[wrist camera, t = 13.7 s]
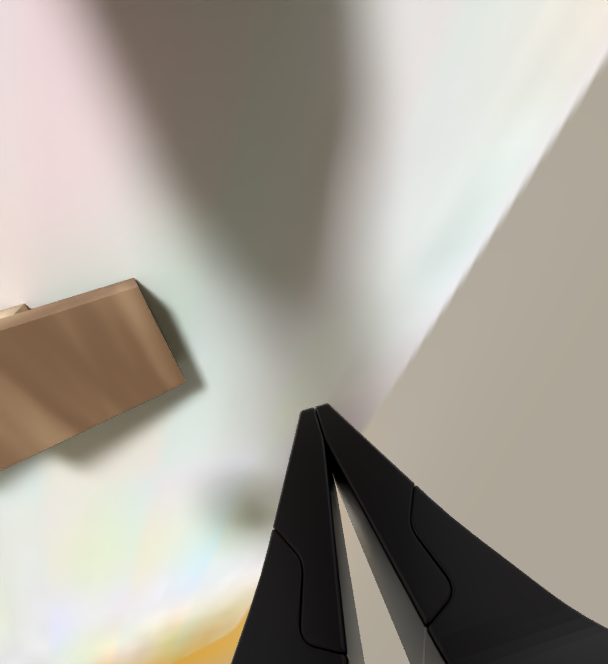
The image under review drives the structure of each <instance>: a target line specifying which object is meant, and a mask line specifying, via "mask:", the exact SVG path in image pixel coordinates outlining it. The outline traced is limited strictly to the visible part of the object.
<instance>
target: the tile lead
mask: <svg viewBox="0 0 608 664" xmlns="http://www.w3.org/2000/svg"><path fill="white" fill-rule="evenodd" d="M184 383H186V382H185V380H184V378H183V376H182V373H181V371H180V369H179V367H178V364H177V362H176V360H175V358H174V356H173V354H172V352H171V350H170V348H169V346H168V344H167V342H166V341H165V339H164V337H163V335H162V333H161V331H160V329H159V327H158V325H157V323H156V321H155V319H154V317H153V315H152V313H151V311H150V309H149V307H148V305H147V303H146V301H145V299H144V297H143V295H142V293H141V291H140V289H139V287H138V285H137V283H136V281H135V279H134V278H132V279H129V280H125V281H122V282H119V283H116V284H112V285H109V286H106V287H102V288H99V289H96V290H93V291H89V292H86V293H83V294H80V295H76V296H73V297H70V298H67V299H63V300H60V301H57V302H54V303H50V304H47V305H44V306H41V307H37V308H34V309H31V310H28V311H24V312H21V313H18V314H14V315H11V316H8V317H5V318H1V319H0V471H1V470H3V469H6V468H8V467H10V466H12V465H14V464H16V463H18V462H20V461H22V460H24V459H27V458H29V457H31V456H33V455H35V454H37V453H39V452H41V451H43V450H45V449H47V448H50V447H52V446H54V445H56V444H58V443H60V442H62V441H64V440H66V439H68V438H70V437H73V436H75V435H77V434H79V433H81V432H83V431H85V430H87V429H89V428H91V427H94V426H96V425H98V424H100V423H102V422H104V421H106V420H108V419H110V418H112V417H114V416H117V415H119V414H121V413H123V412H125V411H127V410H129V409H131V408H133V407H135V406H138V405H140V404H142V403H144V402H146V401H148V400H150V399H152V398H154V397H156V396H158V395H161V394H163V393H165V392H167V391H169V390H171V389H173V388H175V387H177V386H179V385H181V384H184Z"/></svg>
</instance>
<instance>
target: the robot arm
mask: <svg viewBox="0 0 608 664" xmlns="http://www.w3.org/2000/svg"><path fill="white" fill-rule="evenodd" d="M333 476H334V477H333ZM334 479H335V481H334ZM335 483H336V485H337V488H338V490H339V493H340V495H341V498H342V500H343V502H344V505H345V507H346V510H347V512H348V514H349V517H350V519H351V522H352V524H353V526H354V529H355V532H356V534H357V536H358V539H359V541H360V544H361V546H362V548H363V551H364V553H365V555H366V558H367V561H368V563H369V565H370V568H371V570H372V573H373V575H374V577H375V580H376V582H377V585H378V587H379V589H380V592H381V594H382V597H383V599H384V602H385V604H386V606H387V609H388V611H389V614H390V616H391V618H392V621H393V623H394V625H395V628H396V630H397V633H398V635H399V638H400V640H401V643H402V645H403V647H404V650H405V652H406V655H407V657H408V660H409V662H410V664H608V628H605V627H604V626H602V625H600V624H598V623H596V622H595V621H593V620H591V619H589V618H587V617H586V616H584V615H582V614H581V613H579V612H578V611H576V610H574V609H572V608H571V607H570V606H568V605H566V604H565V603H563V602H562V601H561V600H559V599H558V598H556V597H555V596H554V595H552V594H551V593H550V592H548V591H547V590H546V589H544V588H543V587H542V586H540V585H539V584H538V583H536V582H535V581H534V580H532V579H531V578H530V577H529V576H527V575H526V574H525V573H523V572H522V571H521V570H519V569H518V568H517V567H515V566H514V565H513V564H511V563H510V562H509V561H508V560H506V559H505V558H504V557H502V556H501V555H500V554H498V553H497V552H496V551H495V550H493V549H491V547H489V546H488V545H487V544H485V543H484V542H483V541H481V540H480V539H479V538H478V537H476V536H475V535H474V534H472V533H471V532H470V531H469V530H467V529H466V528H465V527H464V526H462V525H461V524H460V523H459V522H457V521H456V520H455V519H454V518H452V517H451V516H450V515H449V514H448V513H446V512H445V511H444V510H443V509H442V508H441V507H440V506H439V505H437V504H436V503H435V502H434V501H433V500H431V498H429V497H428V496H427V495H426V494H425V493H424V492H423V491H422V490H421V489H420V488H419V487H418V486H415V485H414V483H413V482H412V481H411V480H410V479H409V478H408V477H407V476H406V475H404V474H403V473H402V472H401V471H400V470H399V469H398V468H397V467H396V466H395V465H394V464H393V463H392V462H391V461H390V460H388V459H387V458H386V457H385V456H384V455H383V454H382V453H381V452H380V451H379V450H378V449H377V448H376V447H374V446H373V445H372V444H371V443H370V442H369V441H368V440H367V439H366V438H365V437H364V436H363V435H362V434H361V433H359V432H358V431H357V430H356V429H355V428H354V427H353V426H352V425H351V424H350V423H349V422H348V421H347V420H345V419H344V418H343V417H342V416H341V415H340V414H339V413H338V412H337V411H336V410H335V409H334V408H333V407H331V406H330V405H329V404H323V405H320V406H316V407H315V409H314V408H309V409H306V410H302V411H301V413H300V416H299V421H298V425H297V429H296V433H295V437H294V442H293V446H292V450H291V454H290V458H289V463H288V467H287V471H286V475H285V479H284V483H283V488H282V492H281V496H280V500H279V504H278V509H277V513H276V517H275V521H274V525H273V528H274V530H272V533H271V537H270V541H269V546H268V550H267V553H266V557H265V561H264V564H263V568H262V572H261V576H260V579H259V582H258V585H257V588H256V591H255V595H254V598H253V601H252V604H251V607H250V610H249V613H248V616H247V619H246V622H245V625H244V628H243V630H242V633H241V636H240V639H239V642H238V645H237V648H236V651H235V654H234V656H233V659H232V662H231V664H365V663H364V657H363V651H362V645H361V639H360V633H359V626H358V620H357V614H356V608H355V602H354V596H353V590H352V584H351V577H350V572H349V565H348V559H347V553H346V547H345V541H344V534H343V528H342V523H341V516H340V510H339V504H338V498H337V492H336V486H335Z"/></svg>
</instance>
